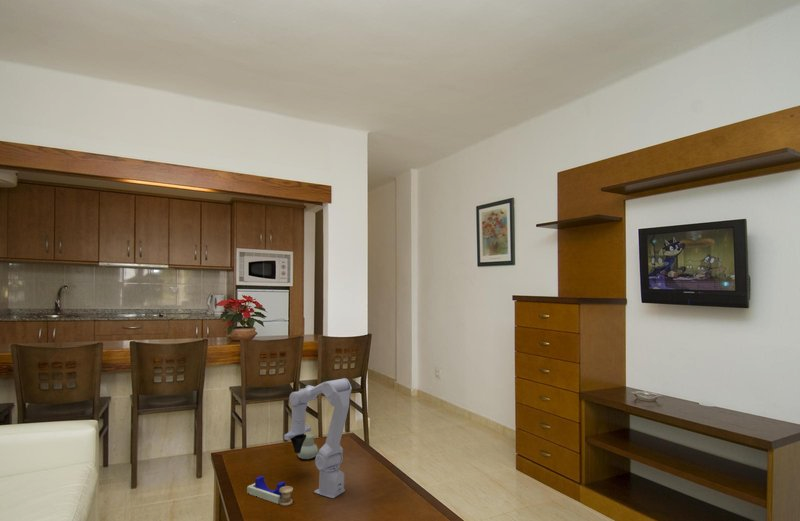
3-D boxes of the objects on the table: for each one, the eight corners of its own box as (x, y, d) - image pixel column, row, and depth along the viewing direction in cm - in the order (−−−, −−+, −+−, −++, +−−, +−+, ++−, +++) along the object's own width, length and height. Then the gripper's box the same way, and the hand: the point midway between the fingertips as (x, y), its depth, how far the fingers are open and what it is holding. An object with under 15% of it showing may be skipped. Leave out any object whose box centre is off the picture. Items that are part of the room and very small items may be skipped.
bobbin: (295, 501, 171) (295, 487, 172) (286, 506, 167) (286, 492, 167) (285, 498, 174) (286, 484, 174) (276, 503, 170) (276, 489, 170)
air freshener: (295, 454, 218) (295, 433, 219) (312, 451, 222) (312, 430, 223) (301, 462, 209) (302, 440, 209) (319, 459, 213) (319, 437, 213)
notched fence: (291, 496, 175) (291, 489, 175) (277, 504, 169) (278, 497, 169) (260, 486, 183) (261, 480, 184) (247, 493, 177) (247, 486, 177)
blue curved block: (287, 496, 176) (287, 480, 176) (279, 501, 172) (280, 485, 172) (262, 489, 181) (263, 474, 181) (254, 494, 177) (255, 478, 177)
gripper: (302, 414, 203) (301, 445, 202) (279, 422, 190) (278, 456, 190) (315, 416, 200) (314, 448, 199) (291, 425, 187) (290, 459, 186)
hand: (297, 452), depth 194 cm, fingers closed
